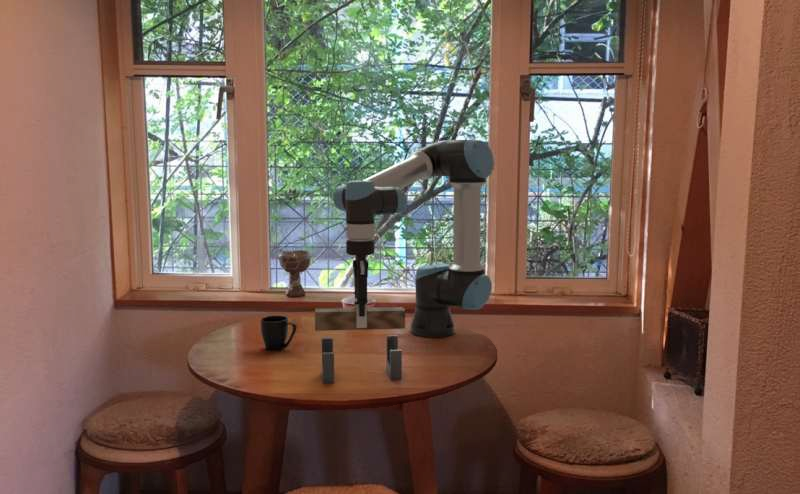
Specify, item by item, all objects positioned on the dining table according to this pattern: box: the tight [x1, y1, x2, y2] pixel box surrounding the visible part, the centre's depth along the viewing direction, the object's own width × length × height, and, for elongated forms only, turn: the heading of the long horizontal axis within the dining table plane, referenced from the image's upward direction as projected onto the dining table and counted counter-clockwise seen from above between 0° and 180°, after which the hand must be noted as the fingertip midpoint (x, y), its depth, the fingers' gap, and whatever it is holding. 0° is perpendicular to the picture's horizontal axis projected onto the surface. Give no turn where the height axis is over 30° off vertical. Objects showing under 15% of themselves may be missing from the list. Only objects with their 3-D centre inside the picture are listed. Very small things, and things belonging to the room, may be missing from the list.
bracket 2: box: [386, 334, 403, 381], centre depth 171 cm, size 3×8×10 cm, turn 8°
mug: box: [260, 315, 298, 352], centre depth 194 cm, size 8×12×10 cm
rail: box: [314, 306, 406, 332], centre depth 168 cm, size 24×4×5 cm, turn 98°
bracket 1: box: [321, 337, 335, 384], centre depth 169 cm, size 3×8×10 cm, turn 8°
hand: (360, 325), depth 169 cm, fingers closed on rail, 4 cm apart
